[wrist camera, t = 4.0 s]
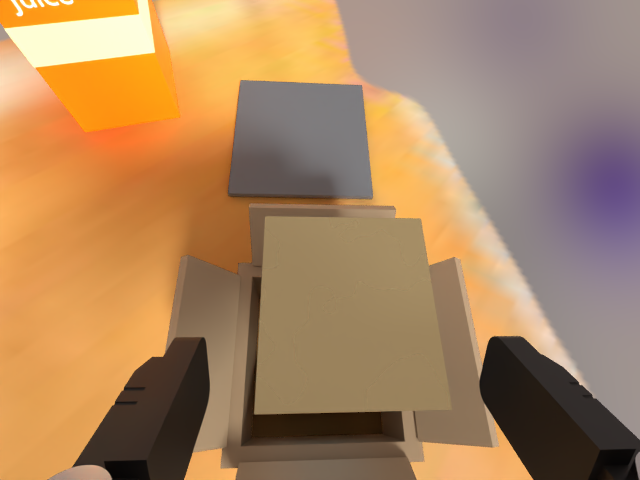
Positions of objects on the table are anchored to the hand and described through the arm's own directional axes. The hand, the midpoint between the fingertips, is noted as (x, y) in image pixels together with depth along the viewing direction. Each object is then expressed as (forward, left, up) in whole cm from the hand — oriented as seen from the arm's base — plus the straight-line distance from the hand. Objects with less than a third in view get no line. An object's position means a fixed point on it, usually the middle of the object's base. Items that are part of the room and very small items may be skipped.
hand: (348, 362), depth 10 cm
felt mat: (-1, +19, -12) cm, 23 cm away
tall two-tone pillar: (0, +1, -12) cm, 12 cm away
